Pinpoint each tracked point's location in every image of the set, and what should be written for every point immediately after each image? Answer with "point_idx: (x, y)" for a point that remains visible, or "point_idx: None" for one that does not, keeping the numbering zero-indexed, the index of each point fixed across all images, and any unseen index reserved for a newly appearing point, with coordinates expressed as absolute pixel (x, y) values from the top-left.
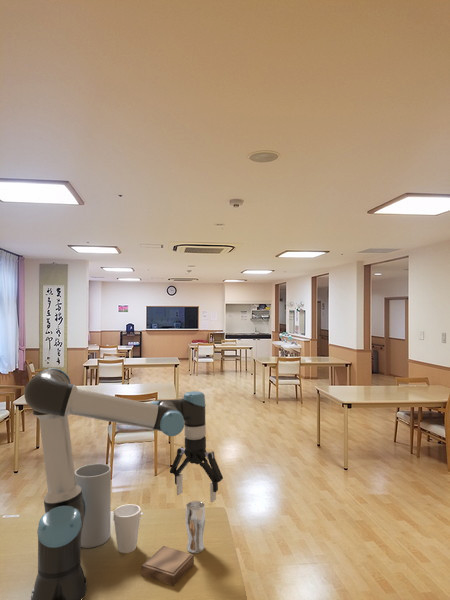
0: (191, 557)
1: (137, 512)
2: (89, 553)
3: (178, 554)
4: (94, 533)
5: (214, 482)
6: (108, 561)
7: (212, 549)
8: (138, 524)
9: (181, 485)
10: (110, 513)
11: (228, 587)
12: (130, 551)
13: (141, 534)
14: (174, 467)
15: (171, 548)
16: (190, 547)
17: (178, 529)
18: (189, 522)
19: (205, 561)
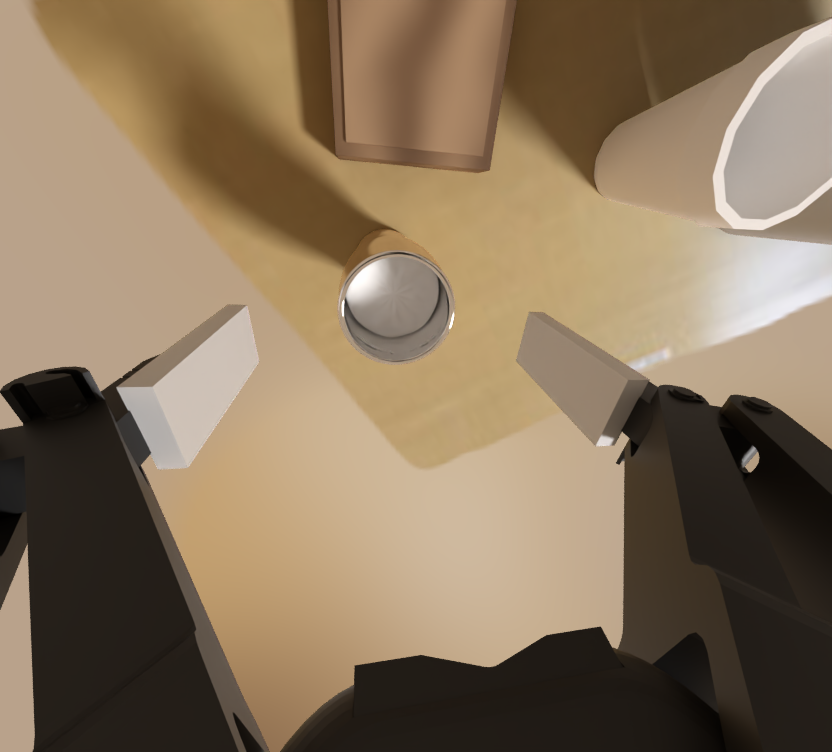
0: (334, 129)
1: (731, 135)
2: None
3: (396, 118)
4: None
5: (15, 387)
6: (681, 21)
7: (327, 281)
8: (656, 166)
9: (545, 374)
10: (805, 209)
11: (99, 36)
12: (608, 136)
13: (596, 265)
14: (790, 452)
15: (449, 164)
16: (391, 233)
17: (487, 340)
18: (399, 236)
19: (308, 197)
